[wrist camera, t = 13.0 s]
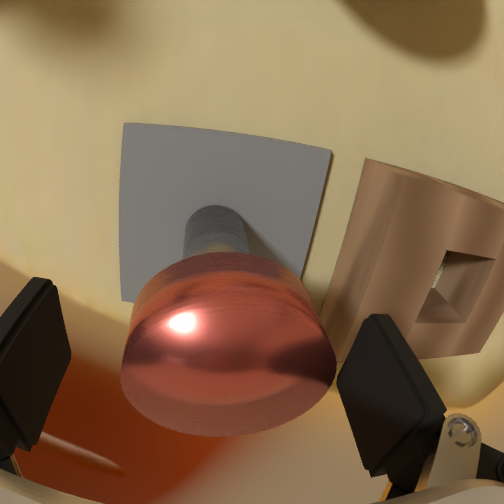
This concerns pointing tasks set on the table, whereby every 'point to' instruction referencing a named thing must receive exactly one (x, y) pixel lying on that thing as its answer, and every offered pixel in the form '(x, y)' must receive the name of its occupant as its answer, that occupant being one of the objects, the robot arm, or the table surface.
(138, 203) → the slate mat
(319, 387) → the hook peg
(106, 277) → the table surface
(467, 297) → the eye block
